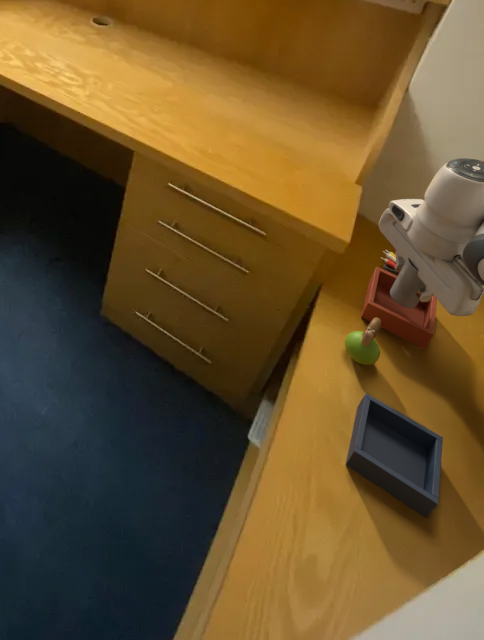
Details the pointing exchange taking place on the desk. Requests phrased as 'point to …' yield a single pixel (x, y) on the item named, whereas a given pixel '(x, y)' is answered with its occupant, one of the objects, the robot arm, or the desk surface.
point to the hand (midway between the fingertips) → (410, 284)
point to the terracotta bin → (398, 311)
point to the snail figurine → (364, 344)
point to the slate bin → (396, 454)
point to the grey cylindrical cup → (407, 286)
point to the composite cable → (390, 262)
